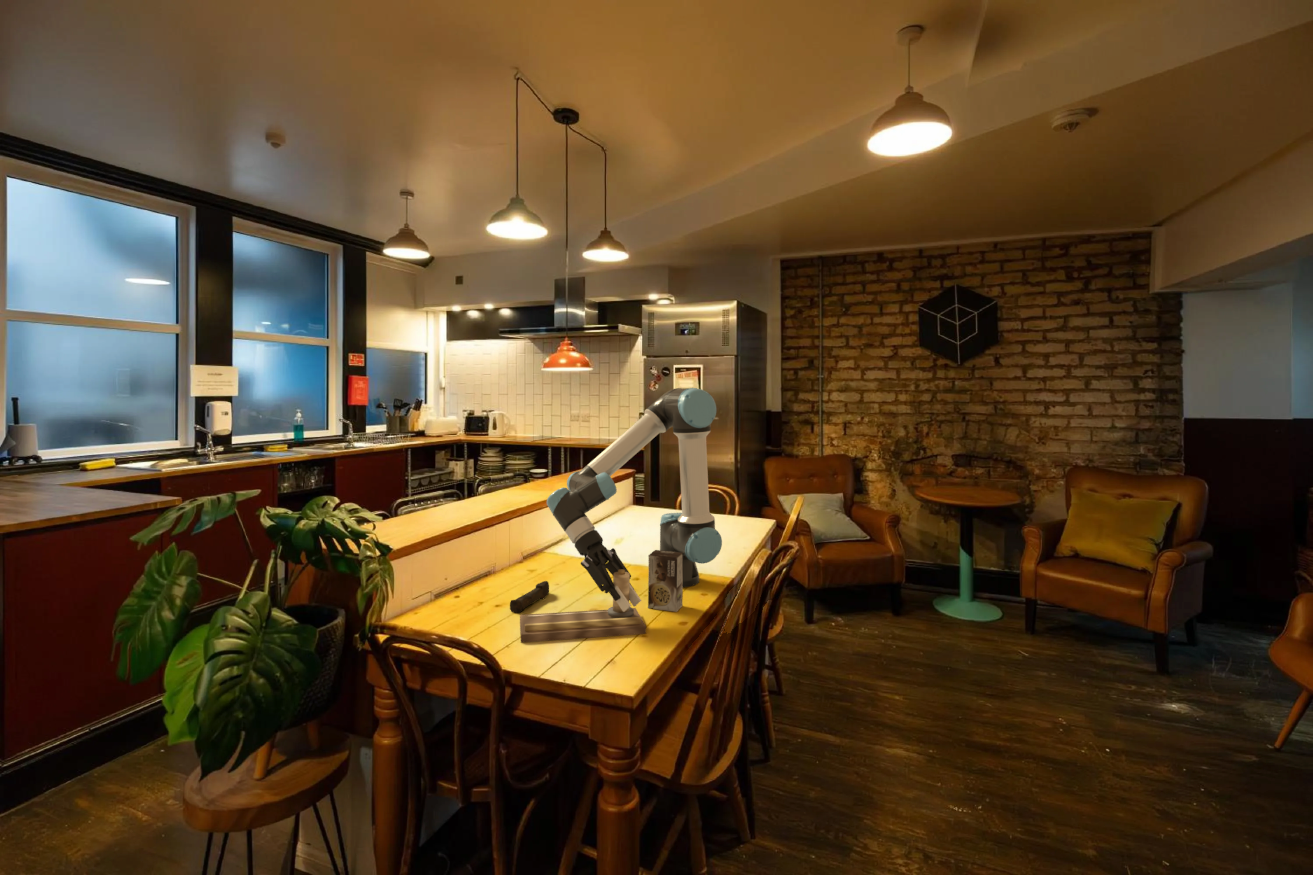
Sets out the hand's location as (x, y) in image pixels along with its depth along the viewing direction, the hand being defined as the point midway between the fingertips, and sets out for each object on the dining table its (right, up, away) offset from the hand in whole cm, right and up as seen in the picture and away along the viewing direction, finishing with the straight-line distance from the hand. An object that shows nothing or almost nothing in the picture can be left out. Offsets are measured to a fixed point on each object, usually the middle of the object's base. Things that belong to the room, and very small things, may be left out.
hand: (632, 606), depth 166 cm
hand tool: (-31, -4, +18) cm, 36 cm away
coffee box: (+9, -5, +17) cm, 20 cm away
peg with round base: (-3, -3, +2) cm, 5 cm away
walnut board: (-14, -5, -1) cm, 15 cm away
